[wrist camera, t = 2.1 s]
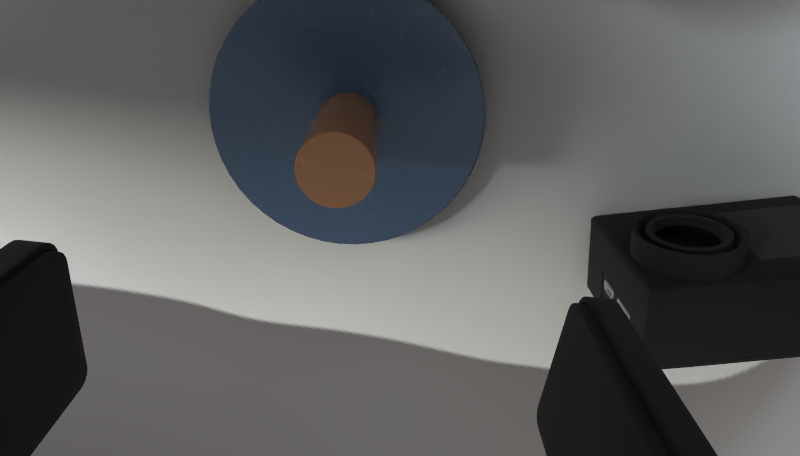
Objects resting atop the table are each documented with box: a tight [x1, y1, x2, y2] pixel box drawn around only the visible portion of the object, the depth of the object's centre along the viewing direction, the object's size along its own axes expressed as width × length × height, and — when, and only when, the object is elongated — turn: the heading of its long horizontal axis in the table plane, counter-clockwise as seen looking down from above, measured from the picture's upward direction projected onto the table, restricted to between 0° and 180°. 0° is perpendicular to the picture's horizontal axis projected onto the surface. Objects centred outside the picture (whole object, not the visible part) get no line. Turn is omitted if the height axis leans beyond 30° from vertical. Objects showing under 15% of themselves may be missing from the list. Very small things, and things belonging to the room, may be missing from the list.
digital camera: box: [587, 196, 800, 369], centre depth 24 cm, size 10×5×7 cm, turn 96°
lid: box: [209, 0, 485, 244], centre depth 21 cm, size 12×12×7 cm
